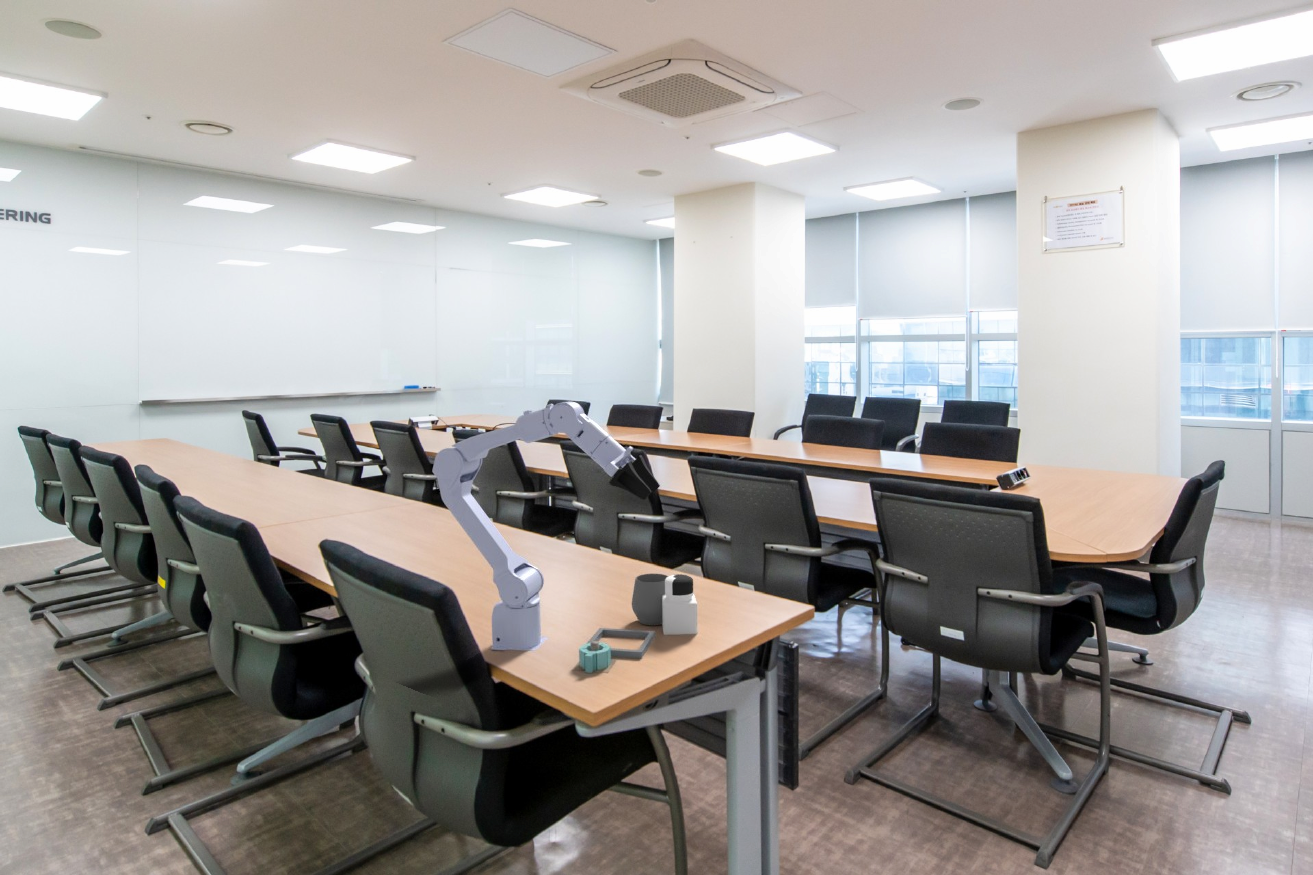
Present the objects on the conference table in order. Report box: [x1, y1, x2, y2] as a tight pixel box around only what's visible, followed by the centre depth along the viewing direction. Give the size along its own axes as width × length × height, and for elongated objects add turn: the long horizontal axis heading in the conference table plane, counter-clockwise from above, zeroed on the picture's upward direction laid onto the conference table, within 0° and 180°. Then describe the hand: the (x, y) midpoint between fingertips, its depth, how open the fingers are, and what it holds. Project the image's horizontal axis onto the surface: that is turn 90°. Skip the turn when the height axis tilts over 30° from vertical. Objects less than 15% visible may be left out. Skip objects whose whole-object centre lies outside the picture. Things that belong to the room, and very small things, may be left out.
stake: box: [571, 641, 618, 674], centre depth 144 cm, size 7×7×5 cm
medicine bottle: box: [661, 574, 698, 636], centre depth 163 cm, size 7×7×12 cm
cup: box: [631, 572, 670, 626], centre depth 170 cm, size 10×9×10 cm
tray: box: [585, 627, 656, 659], centre depth 154 cm, size 12×12×2 cm
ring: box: [578, 642, 612, 674], centre depth 144 cm, size 7×6×3 cm
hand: (652, 492), depth 148 cm, fingers open, 7 cm apart
